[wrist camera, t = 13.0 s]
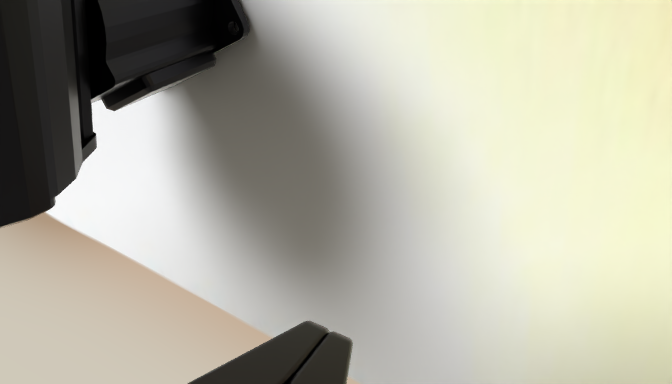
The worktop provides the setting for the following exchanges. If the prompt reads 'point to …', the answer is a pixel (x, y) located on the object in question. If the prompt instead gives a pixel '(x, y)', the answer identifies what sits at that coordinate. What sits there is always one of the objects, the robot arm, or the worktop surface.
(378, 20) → the worktop surface
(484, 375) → the worktop surface
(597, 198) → the worktop surface
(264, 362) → the robot arm
